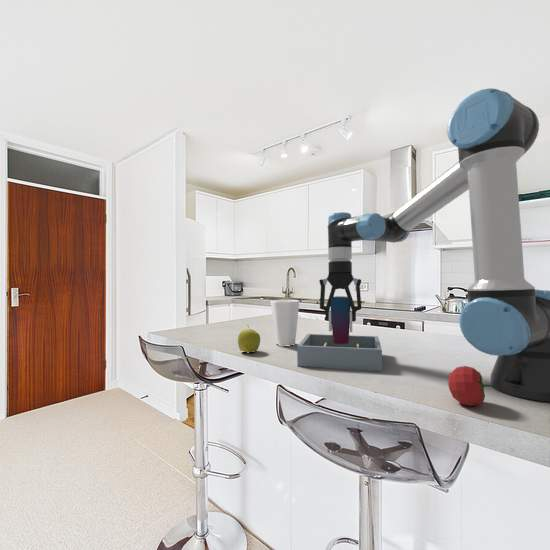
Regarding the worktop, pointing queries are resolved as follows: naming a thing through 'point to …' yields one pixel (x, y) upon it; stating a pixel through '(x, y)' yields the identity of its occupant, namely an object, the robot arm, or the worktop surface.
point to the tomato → (467, 386)
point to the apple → (248, 340)
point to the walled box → (340, 352)
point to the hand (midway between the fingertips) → (340, 330)
